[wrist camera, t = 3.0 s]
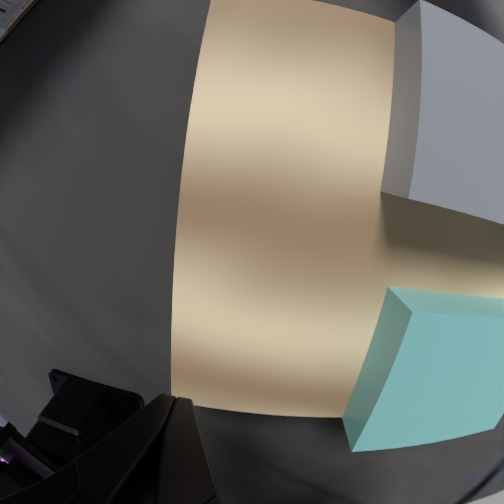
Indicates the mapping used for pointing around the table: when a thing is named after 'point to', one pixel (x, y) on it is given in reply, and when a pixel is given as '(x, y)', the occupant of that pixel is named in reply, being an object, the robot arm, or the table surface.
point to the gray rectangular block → (446, 114)
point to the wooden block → (299, 212)
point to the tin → (12, 14)
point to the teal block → (429, 371)
